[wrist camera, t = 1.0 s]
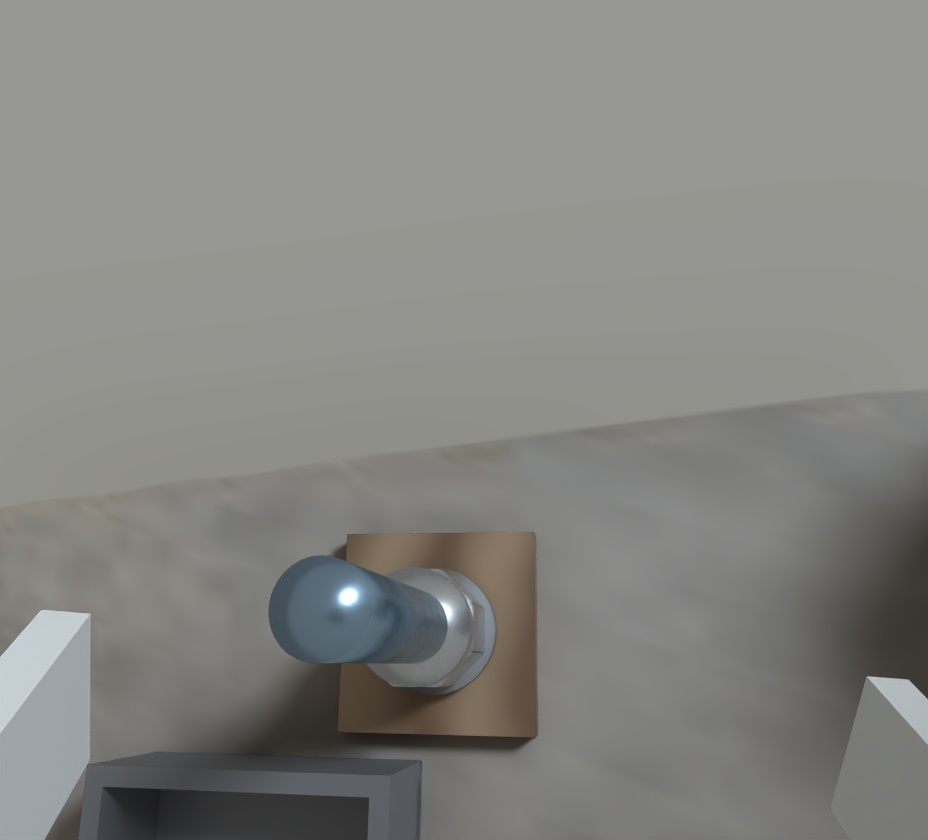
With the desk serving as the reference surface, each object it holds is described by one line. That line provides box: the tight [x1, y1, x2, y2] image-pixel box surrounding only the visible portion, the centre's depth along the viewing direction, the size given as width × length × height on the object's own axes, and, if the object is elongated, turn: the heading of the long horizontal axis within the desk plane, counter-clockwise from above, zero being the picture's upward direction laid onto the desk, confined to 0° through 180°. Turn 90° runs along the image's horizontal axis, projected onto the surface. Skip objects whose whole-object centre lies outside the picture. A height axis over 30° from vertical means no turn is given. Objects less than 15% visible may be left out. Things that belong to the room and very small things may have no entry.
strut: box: [269, 555, 485, 687], centre depth 38 cm, size 6×6×19 cm
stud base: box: [338, 532, 538, 737], centre depth 47 cm, size 11×11×6 cm
